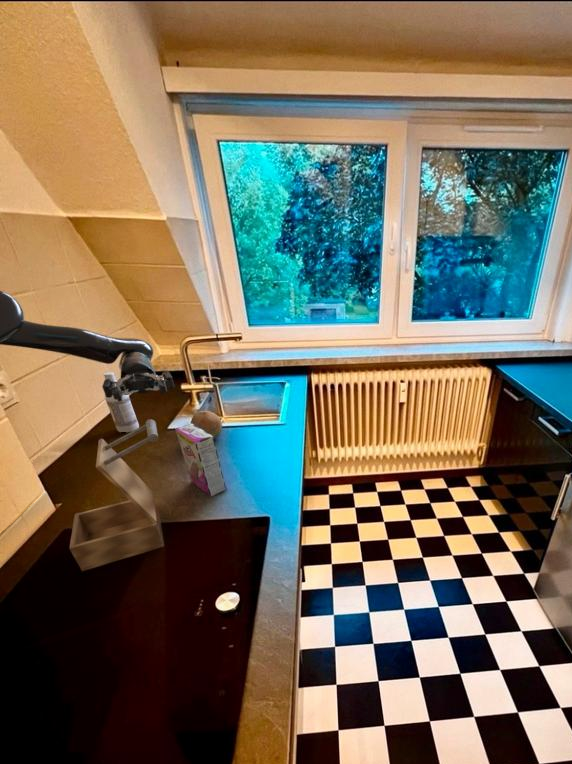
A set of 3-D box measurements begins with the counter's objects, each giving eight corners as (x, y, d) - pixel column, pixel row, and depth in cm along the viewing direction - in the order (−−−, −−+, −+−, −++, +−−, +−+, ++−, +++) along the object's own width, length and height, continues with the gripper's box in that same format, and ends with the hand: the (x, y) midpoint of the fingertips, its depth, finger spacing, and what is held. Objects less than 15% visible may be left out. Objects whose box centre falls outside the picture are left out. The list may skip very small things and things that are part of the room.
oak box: (82, 571, 79) (69, 548, 76) (86, 535, 88) (74, 513, 85) (164, 546, 85) (155, 524, 82) (159, 515, 94) (152, 494, 91)
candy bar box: (190, 482, 107) (173, 428, 98) (206, 475, 110) (192, 422, 101) (210, 498, 100) (194, 442, 92) (227, 490, 104) (214, 435, 95)
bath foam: (116, 428, 137) (94, 372, 127) (137, 423, 141) (118, 368, 130) (119, 435, 133) (97, 378, 122) (141, 430, 136) (121, 374, 125)
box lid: (95, 467, 71) (154, 435, 73) (98, 440, 80) (150, 412, 82) (153, 523, 81) (203, 494, 84) (149, 493, 91) (194, 468, 93)
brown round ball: (229, 432, 133) (223, 405, 128) (217, 446, 125) (211, 417, 120) (202, 432, 134) (195, 404, 129) (189, 445, 126) (181, 416, 120)
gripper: (100, 362, 91) (96, 381, 79) (164, 354, 97) (171, 371, 85) (111, 393, 95) (109, 415, 83) (172, 384, 101) (180, 403, 89)
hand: (140, 393), depth 84 cm, fingers open, 8 cm apart
